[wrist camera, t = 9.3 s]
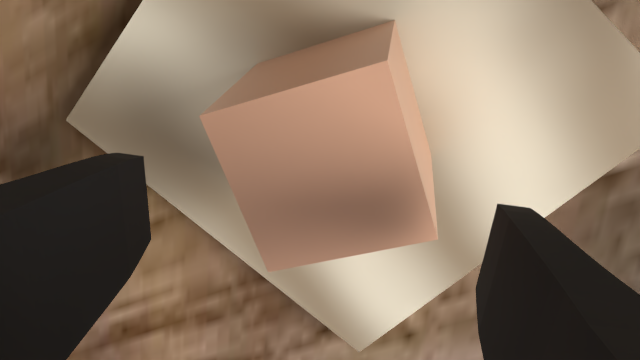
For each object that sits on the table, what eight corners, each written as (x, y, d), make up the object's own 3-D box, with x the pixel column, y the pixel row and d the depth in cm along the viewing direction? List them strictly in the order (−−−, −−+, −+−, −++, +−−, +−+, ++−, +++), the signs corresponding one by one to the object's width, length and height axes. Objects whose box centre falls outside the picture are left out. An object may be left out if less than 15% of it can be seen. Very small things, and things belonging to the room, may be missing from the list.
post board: (361, 331, 22) (351, 415, 18) (84, 109, 19) (6, 153, 16) (674, 97, 16) (753, 150, 12) (333, -269, 13) (302, -343, 10)
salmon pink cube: (431, 155, 17) (438, 239, 12) (303, 186, 18) (268, 272, 13) (394, 19, 15) (387, 60, 11) (257, 63, 16) (198, 116, 12)
